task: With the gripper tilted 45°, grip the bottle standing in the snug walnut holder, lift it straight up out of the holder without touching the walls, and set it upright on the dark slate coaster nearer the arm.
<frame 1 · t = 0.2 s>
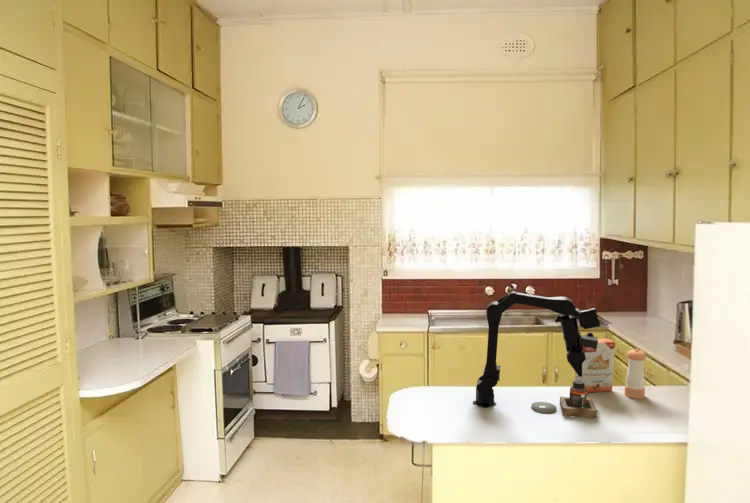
hand: (579, 372, 206), 15 cm above the countertop, tool pointing down, fingers open, 9 cm apart
walnut holder: (577, 411, 209), on the countertop
cracker box: (593, 390, 230), on the countertop
slate coaster: (543, 408, 211), on the countertop
supplement bottle: (577, 411, 209), resting in walnut holder
pepper shaker: (634, 395, 224), on the countertop
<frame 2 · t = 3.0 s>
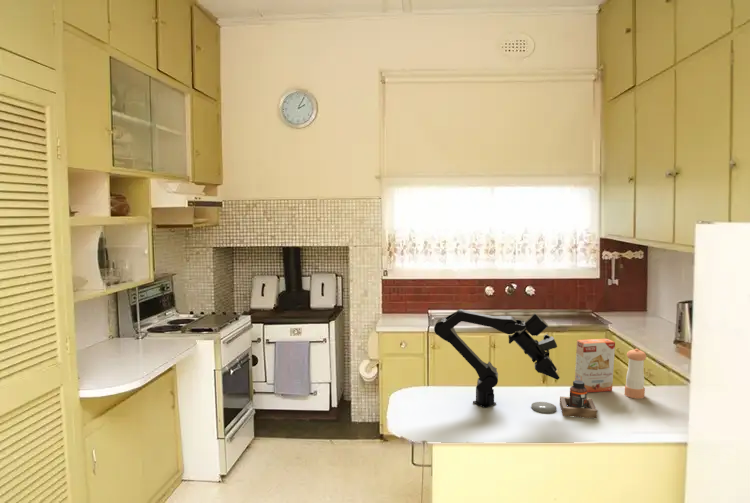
hand: (557, 374, 209), 14 cm above the countertop, tool tilted 45°, fingers open, 9 cm apart
nothing on the countertop moved.
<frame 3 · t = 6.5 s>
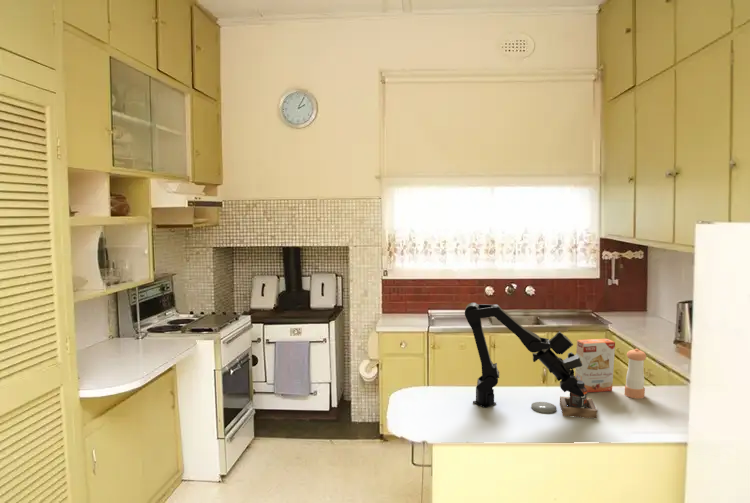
hand: (582, 393, 208), 7 cm above the countertop, tool tilted 45°, fingers closed on supplement bottle, 6 cm apart
supplement bottle: (577, 411, 209), resting in walnut holder, touching gripper
everything else where it was.
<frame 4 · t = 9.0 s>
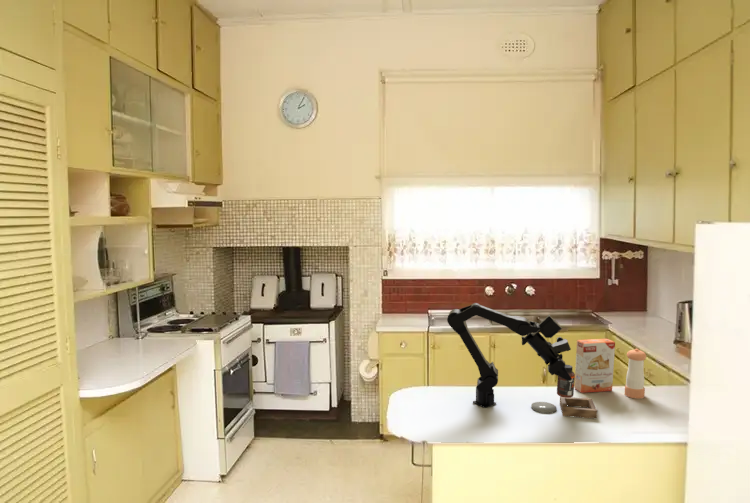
hand: (570, 377, 208), 13 cm above the countertop, tool tilted 45°, fingers closed on supplement bottle, 6 cm apart
supplement bottle: (565, 395, 209), point 6 cm above the countertop, touching gripper
everything else where it was.
when the fingers open (9 cm above the countertop, at t = 11.5 s): supplement bottle drops 1 cm, resting on slate coaster.
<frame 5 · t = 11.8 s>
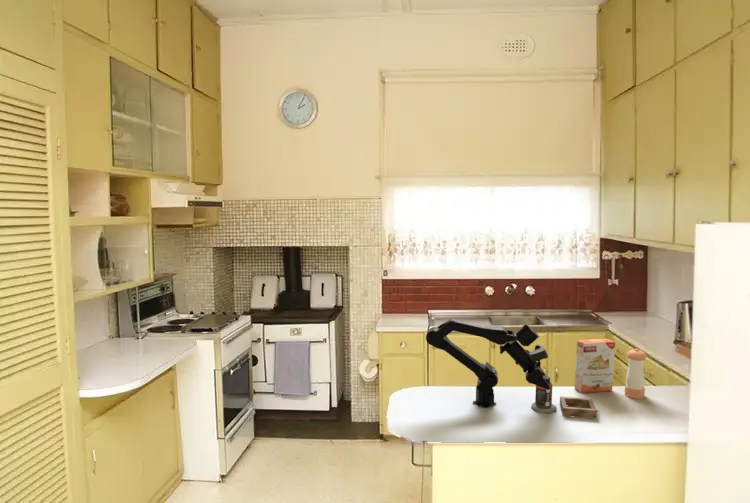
hand: (548, 384, 210), 9 cm above the countertop, tool tilted 45°, fingers open, 9 cm apart
supplement bottle: (543, 406, 211), point 1 cm above the countertop, touching slate coaster
everything else where it was.
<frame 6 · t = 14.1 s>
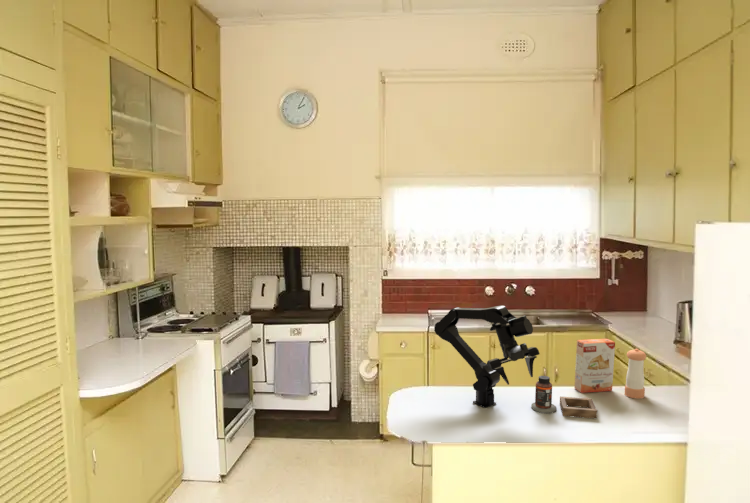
hand: (520, 380, 206), 12 cm above the countertop, tool tilted 20°, fingers open, 9 cm apart
nothing on the countertop moved.
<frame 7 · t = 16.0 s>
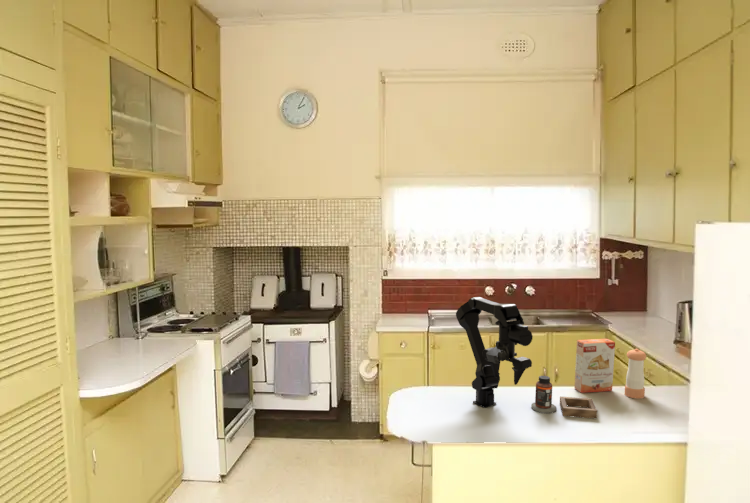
hand: (505, 380, 204), 13 cm above the countertop, tool pointing down, fingers open, 9 cm apart
nothing on the countertop moved.
at the end: supplement bottle 0.2 cm off-centre on the slate coaster, point 0.6 cm above the slate coaster's base; supplement bottle tilted 0°; the gripper is holding nothing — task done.
